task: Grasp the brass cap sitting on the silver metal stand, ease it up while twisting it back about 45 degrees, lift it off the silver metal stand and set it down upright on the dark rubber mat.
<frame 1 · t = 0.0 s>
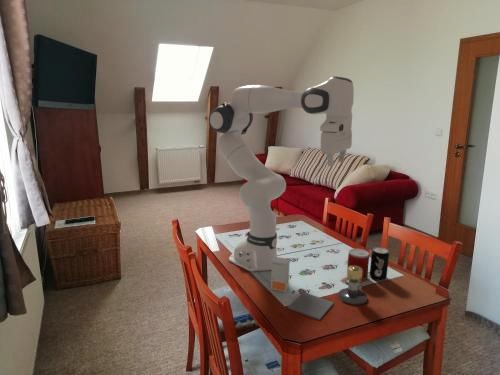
hand: (336, 163, 133), 48 cm above the table, tool pointing down, fingers open, 8 cm apart
skincare box: (279, 289, 142), on the table
cap: (354, 278, 134), point 7 cm above the table, touching silver metal stand
beverage can: (377, 277, 151), on the table
canned food: (356, 277, 151), on the table
mat: (310, 306, 130), on the table
silver metal stand: (352, 297, 136), on the table
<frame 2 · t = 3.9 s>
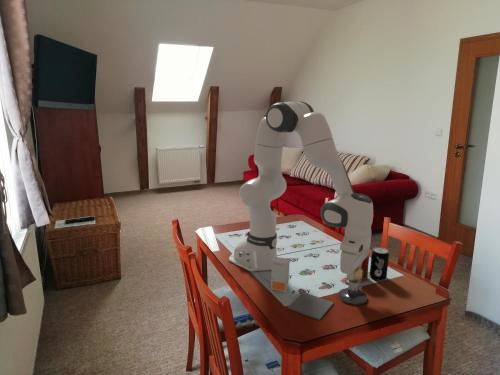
hand: (354, 275, 134), 9 cm above the table, tool pointing down, fingers closed on cap, 5 cm apart
cap: (354, 278, 134), point 7 cm above the table, touching gripper, silver metal stand
everything else where it was.
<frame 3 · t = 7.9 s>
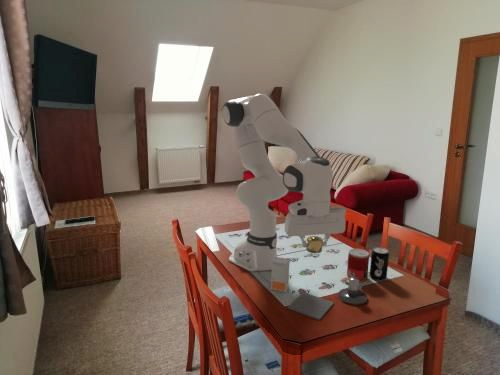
hand: (314, 246, 124), 23 cm above the table, tool pointing down, fingers closed on cap, 5 cm apart
cap: (314, 250, 125), point 21 cm above the table, touching gripper
everything else where it was.
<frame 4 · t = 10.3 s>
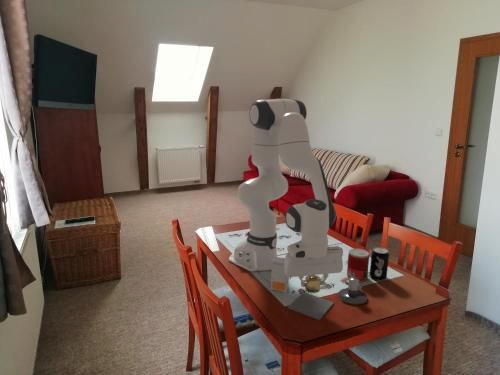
hand: (312, 285, 128), 8 cm above the table, tool pointing down, fingers closed on cap, 5 cm apart
cap: (312, 288, 128), point 7 cm above the table, touching gripper
everything else where it was.
when the fingers open (4 cm above the table, at t = 12.2 s): cap drops 2 cm, resting on mat.
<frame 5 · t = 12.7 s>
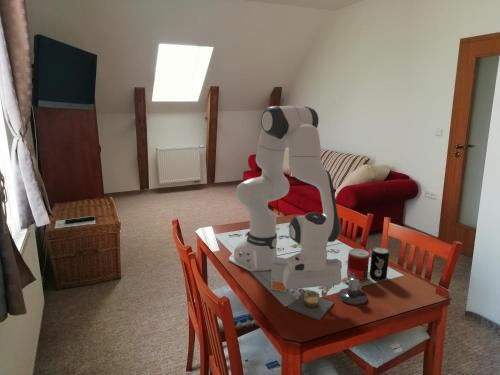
hand: (311, 296, 129), 4 cm above the table, tool pointing down, fingers open, 8 cm apart
cap: (311, 304, 130), point 1 cm above the table, touching mat
everything else where it was.
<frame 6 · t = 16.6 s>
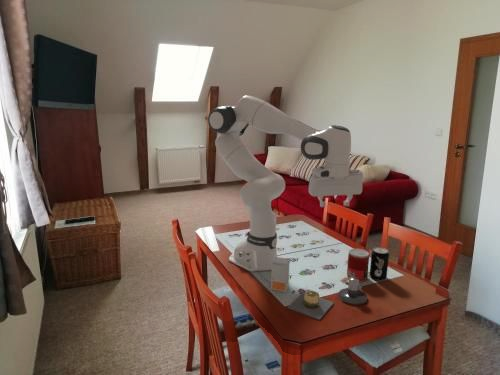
hand: (334, 206, 140), 31 cm above the table, tool pointing down, fingers open, 8 cm apart
nothing on the table moved.
at the end: cap inside the target area on the mat (0.1 cm from its centre), point 0.6 cm above the mat's base; cap tilted 0°; the gripper is holding nothing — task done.
